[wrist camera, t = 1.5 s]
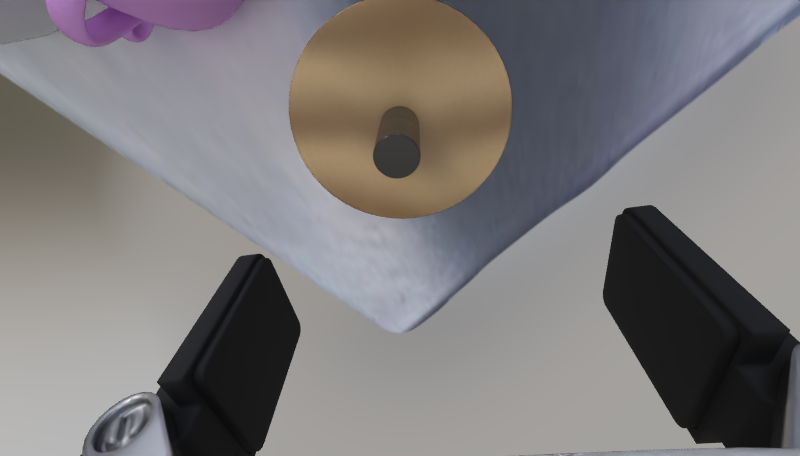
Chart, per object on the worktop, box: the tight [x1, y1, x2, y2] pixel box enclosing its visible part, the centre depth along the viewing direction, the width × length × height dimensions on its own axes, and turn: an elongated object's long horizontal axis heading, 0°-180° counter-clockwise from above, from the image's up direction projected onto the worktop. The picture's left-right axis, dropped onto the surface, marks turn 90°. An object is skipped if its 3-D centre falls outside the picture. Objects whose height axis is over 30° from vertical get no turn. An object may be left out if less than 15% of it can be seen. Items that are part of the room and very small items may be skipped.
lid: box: [289, 0, 512, 219], centre depth 21 cm, size 14×14×6 cm
